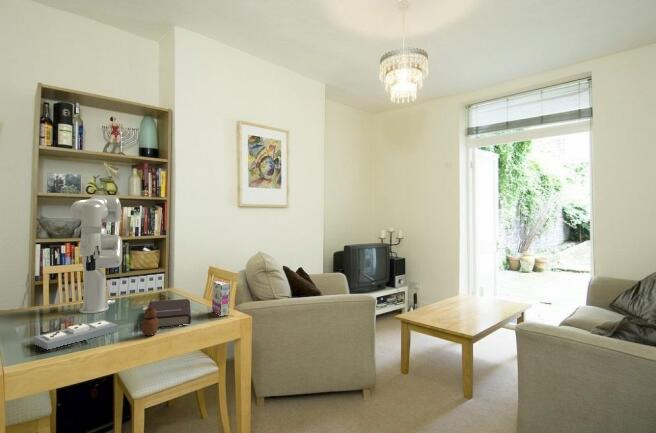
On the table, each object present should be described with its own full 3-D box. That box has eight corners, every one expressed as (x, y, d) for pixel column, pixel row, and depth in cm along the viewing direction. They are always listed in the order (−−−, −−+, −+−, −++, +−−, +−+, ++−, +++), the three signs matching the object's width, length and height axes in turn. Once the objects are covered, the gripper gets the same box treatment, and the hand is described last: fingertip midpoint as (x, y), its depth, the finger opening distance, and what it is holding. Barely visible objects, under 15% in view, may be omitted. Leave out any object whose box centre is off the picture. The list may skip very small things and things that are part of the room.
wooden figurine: (146, 332, 146) (147, 298, 146) (160, 332, 147) (161, 298, 146) (139, 338, 139) (140, 302, 139) (153, 337, 140) (154, 302, 140)
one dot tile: (103, 327, 149) (103, 320, 149) (109, 329, 146) (109, 322, 146) (89, 331, 144) (89, 323, 144) (95, 333, 141) (95, 325, 141)
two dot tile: (82, 330, 142) (82, 322, 142) (89, 333, 139) (89, 325, 139) (67, 334, 137) (67, 326, 137) (73, 337, 134) (73, 329, 134)
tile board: (103, 326, 152) (103, 319, 152) (117, 331, 146) (117, 324, 146) (34, 344, 130) (34, 336, 130) (47, 351, 124) (47, 343, 124)
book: (190, 326, 156) (191, 313, 156) (143, 330, 148) (144, 317, 148) (190, 309, 182) (190, 298, 182) (149, 312, 174) (150, 301, 174)
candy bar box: (229, 315, 172) (230, 284, 172) (220, 317, 169) (220, 285, 168) (220, 310, 180) (221, 280, 180) (211, 312, 177) (212, 281, 177)
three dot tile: (60, 338, 135) (60, 330, 135) (66, 341, 132) (66, 333, 132) (43, 343, 130) (43, 334, 130) (49, 346, 127) (49, 337, 127)
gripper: (74, 230, 153) (73, 269, 153) (90, 231, 146) (89, 273, 146) (92, 229, 160) (91, 267, 160) (108, 231, 152) (108, 271, 152)
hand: (90, 270), depth 153 cm, fingers closed
